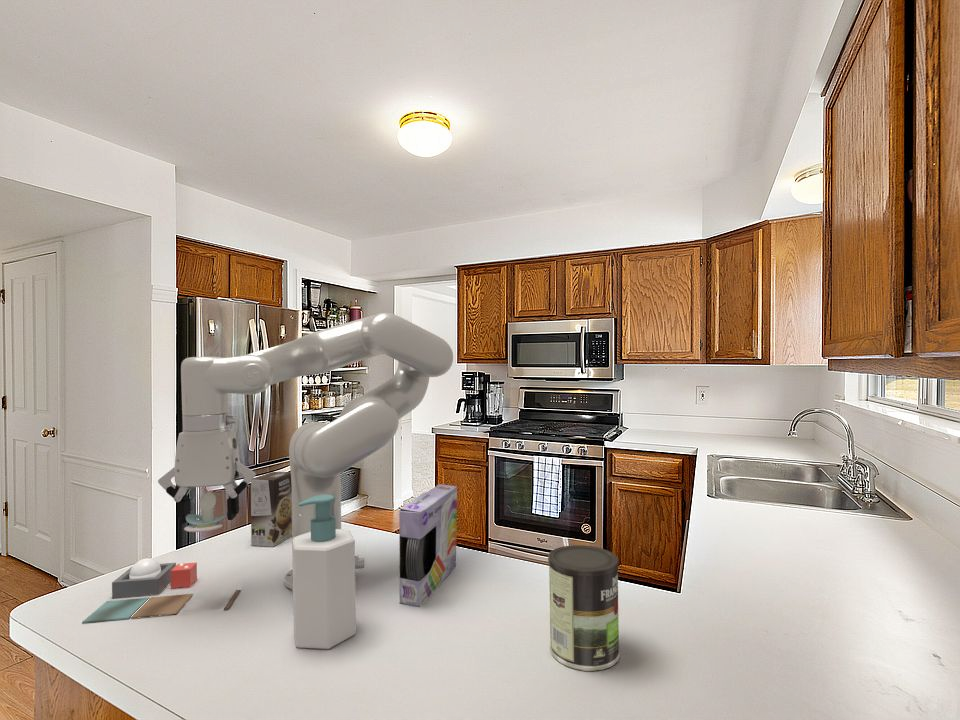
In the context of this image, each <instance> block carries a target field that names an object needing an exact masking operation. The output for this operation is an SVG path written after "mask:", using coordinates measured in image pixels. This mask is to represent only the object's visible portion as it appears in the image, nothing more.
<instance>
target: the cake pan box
mask: <svg viewBox="0 0 960 720" xmlns="http://www.w3.org/2000/svg"><path fill="white" fill-rule="evenodd" d="M398 511H399V512H398V513H399V514H398V516H399V523H398V525H399V531H398V532H399V556H398V557H399V561H398V562H399V563H398V564H399V565H398V566H399V567H398V568H399V569H398V570H399V571H398V572H399V573H398V575H399V576H398V580H399V581H398V582H399V583H398V584H399V591H398V592H399V604H401V605H405V606H412V607H419V608H421V607H422V606H423V605H424V604H425V602H427V600H428V599H429V598H430V597H431V595H433V593H434V592H435V591H436V590H437V589H438V588H439V586H441V584H442V583H443V582H444V580H446V579H447V578H448V576H449V575H450V574H451V573H452V572H453V571H454V569H455V568H456V567H457V516H458V514H457V513H458V486H457V485H449V484H443V483H442V484H441V483H440V484H436V486H435V487H433V488H431V489H430V490H428V491H426V492H423V493H421V494H420V495H418V496H417V497H416V498H415V499H413V500H411V502H408V503H407V504H405V505H403V506H402V507H400V508H399V510H398Z"/></svg>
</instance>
